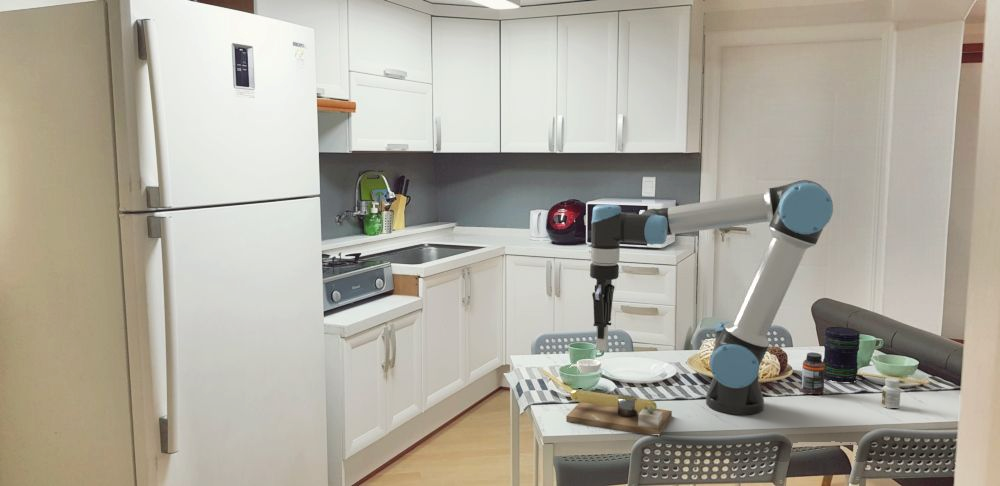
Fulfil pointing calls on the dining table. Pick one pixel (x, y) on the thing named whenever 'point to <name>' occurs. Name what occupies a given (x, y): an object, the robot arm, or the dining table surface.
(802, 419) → the dining table surface
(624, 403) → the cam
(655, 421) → the stand
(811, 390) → the supplement bottle
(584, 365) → the cup
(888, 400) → the pill bottle
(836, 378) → the storage jar
